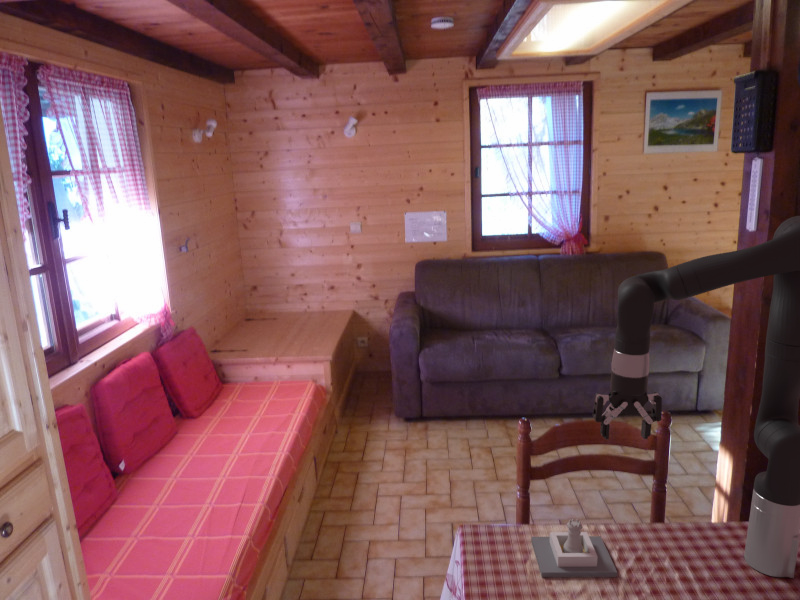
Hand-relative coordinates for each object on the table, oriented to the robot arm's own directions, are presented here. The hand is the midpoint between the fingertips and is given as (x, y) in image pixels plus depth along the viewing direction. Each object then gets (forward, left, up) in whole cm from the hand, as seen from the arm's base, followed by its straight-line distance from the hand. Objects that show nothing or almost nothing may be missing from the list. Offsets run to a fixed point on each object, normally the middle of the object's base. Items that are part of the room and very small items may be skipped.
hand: (624, 437), depth 132 cm
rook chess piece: (+7, +12, -25) cm, 29 cm away
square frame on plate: (+7, +12, -26) cm, 30 cm away
